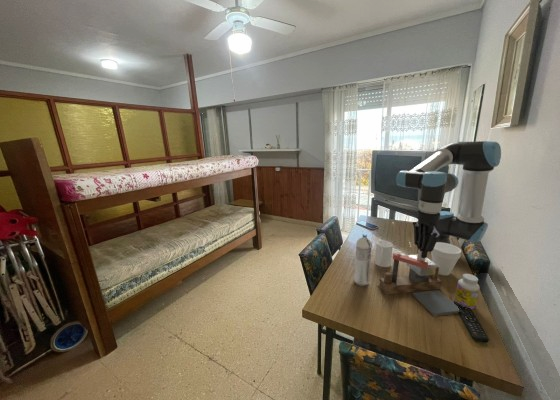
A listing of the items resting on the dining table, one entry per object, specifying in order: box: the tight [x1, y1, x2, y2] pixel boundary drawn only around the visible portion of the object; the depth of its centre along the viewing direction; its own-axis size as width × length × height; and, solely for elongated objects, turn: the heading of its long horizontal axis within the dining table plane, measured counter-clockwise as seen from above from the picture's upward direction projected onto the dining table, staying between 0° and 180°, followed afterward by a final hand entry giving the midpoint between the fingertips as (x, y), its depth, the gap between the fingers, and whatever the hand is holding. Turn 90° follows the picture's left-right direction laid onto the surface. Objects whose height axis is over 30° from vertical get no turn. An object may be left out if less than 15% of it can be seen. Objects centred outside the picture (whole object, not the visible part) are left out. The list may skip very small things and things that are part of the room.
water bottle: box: [353, 233, 373, 287], centre depth 103 cm, size 7×7×25 cm
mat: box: [412, 289, 460, 316], centre depth 91 cm, size 12×12×1 cm
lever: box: [392, 252, 428, 269], centre depth 94 cm, size 13×3×2 cm, turn 49°
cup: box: [430, 242, 462, 276], centre depth 111 cm, size 12×12×14 cm
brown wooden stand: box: [379, 259, 442, 295], centre depth 100 cm, size 26×6×15 cm, turn 96°
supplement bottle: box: [454, 273, 480, 310], centre depth 89 cm, size 7×7×13 cm
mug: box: [374, 239, 394, 268], centre depth 119 cm, size 12×8×12 cm
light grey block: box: [405, 253, 437, 276], centre depth 99 cm, size 7×9×5 cm
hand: (420, 263), depth 93 cm, fingers closed
